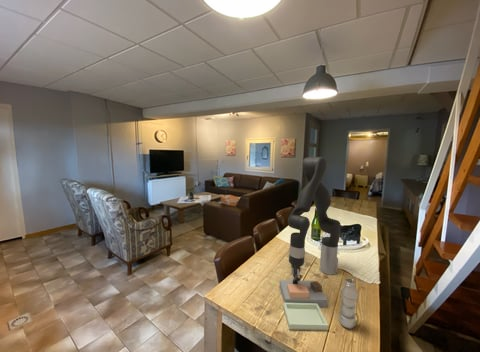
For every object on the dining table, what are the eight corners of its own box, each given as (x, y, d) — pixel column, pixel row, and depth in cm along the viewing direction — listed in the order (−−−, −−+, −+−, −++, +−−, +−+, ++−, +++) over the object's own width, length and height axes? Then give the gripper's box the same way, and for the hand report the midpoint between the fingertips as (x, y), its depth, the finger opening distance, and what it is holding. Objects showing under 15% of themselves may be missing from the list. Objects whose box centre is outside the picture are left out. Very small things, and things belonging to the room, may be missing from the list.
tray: (317, 308, 94) (317, 303, 93) (327, 330, 82) (328, 325, 81) (283, 307, 94) (283, 302, 93) (289, 329, 82) (289, 324, 82)
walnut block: (316, 286, 103) (317, 281, 103) (321, 291, 99) (322, 286, 99) (310, 287, 102) (310, 282, 102) (314, 292, 98) (315, 287, 98)
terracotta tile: (304, 289, 100) (305, 284, 100) (308, 298, 94) (309, 292, 94) (287, 289, 100) (287, 284, 100) (289, 298, 94) (290, 292, 94)
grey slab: (316, 287, 108) (316, 280, 108) (327, 307, 94) (327, 299, 94) (279, 286, 108) (279, 280, 108) (285, 306, 94) (285, 298, 94)
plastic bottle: (338, 328, 83) (342, 283, 81) (337, 315, 89) (340, 274, 87) (356, 333, 81) (360, 288, 78) (353, 320, 87) (357, 278, 85)
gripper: (308, 261, 93) (306, 295, 95) (300, 247, 106) (298, 277, 108) (292, 260, 93) (290, 294, 95) (286, 247, 107) (285, 277, 109)
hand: (294, 285), depth 102 cm, fingers closed
